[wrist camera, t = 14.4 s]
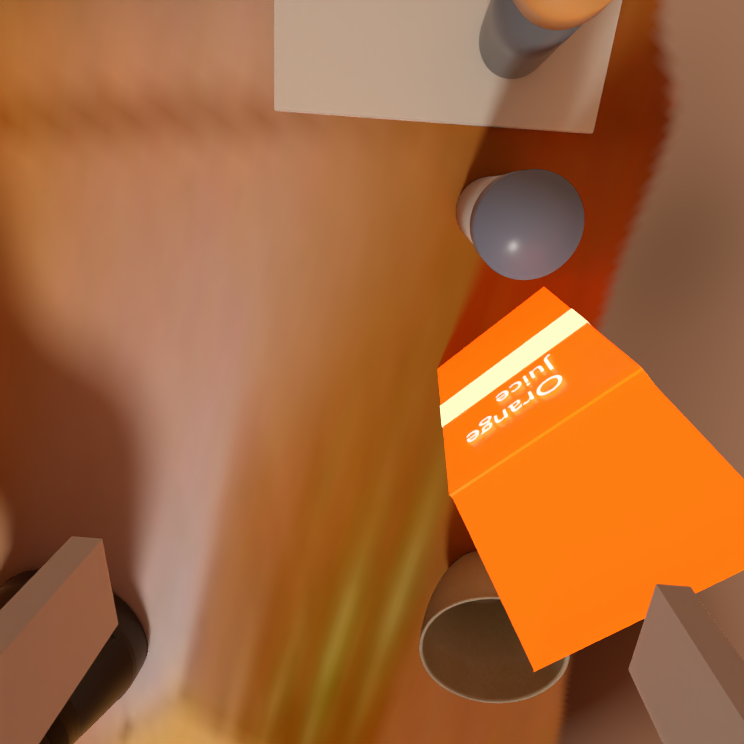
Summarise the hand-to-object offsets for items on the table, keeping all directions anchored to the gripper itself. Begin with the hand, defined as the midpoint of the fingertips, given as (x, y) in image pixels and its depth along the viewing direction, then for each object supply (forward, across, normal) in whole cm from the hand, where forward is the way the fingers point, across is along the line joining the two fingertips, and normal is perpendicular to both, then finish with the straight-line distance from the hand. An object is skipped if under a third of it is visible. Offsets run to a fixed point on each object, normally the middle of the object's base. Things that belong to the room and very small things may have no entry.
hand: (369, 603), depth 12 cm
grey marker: (+22, -5, -8) cm, 24 cm away
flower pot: (+23, -8, +20) cm, 31 cm away
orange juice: (+22, -9, +2) cm, 24 cm away
